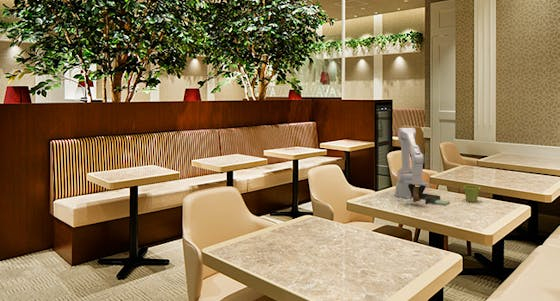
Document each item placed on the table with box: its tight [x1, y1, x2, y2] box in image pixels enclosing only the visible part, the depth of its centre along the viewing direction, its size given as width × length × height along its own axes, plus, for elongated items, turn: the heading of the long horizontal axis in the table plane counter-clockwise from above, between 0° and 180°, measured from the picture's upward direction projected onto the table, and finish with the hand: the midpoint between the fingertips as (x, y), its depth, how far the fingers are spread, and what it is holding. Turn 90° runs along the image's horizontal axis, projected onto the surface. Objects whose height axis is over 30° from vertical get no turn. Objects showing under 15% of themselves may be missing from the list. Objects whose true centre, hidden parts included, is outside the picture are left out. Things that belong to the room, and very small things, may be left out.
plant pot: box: [463, 185, 481, 203], centre depth 260 cm, size 9×9×9 cm
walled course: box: [412, 192, 441, 205], centre depth 260 cm, size 12×11×4 cm
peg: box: [412, 186, 421, 202], centre depth 253 cm, size 4×4×8 cm
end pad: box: [434, 199, 451, 206], centre depth 255 cm, size 7×7×1 cm
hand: (416, 197), depth 253 cm, fingers closed on peg, 4 cm apart
